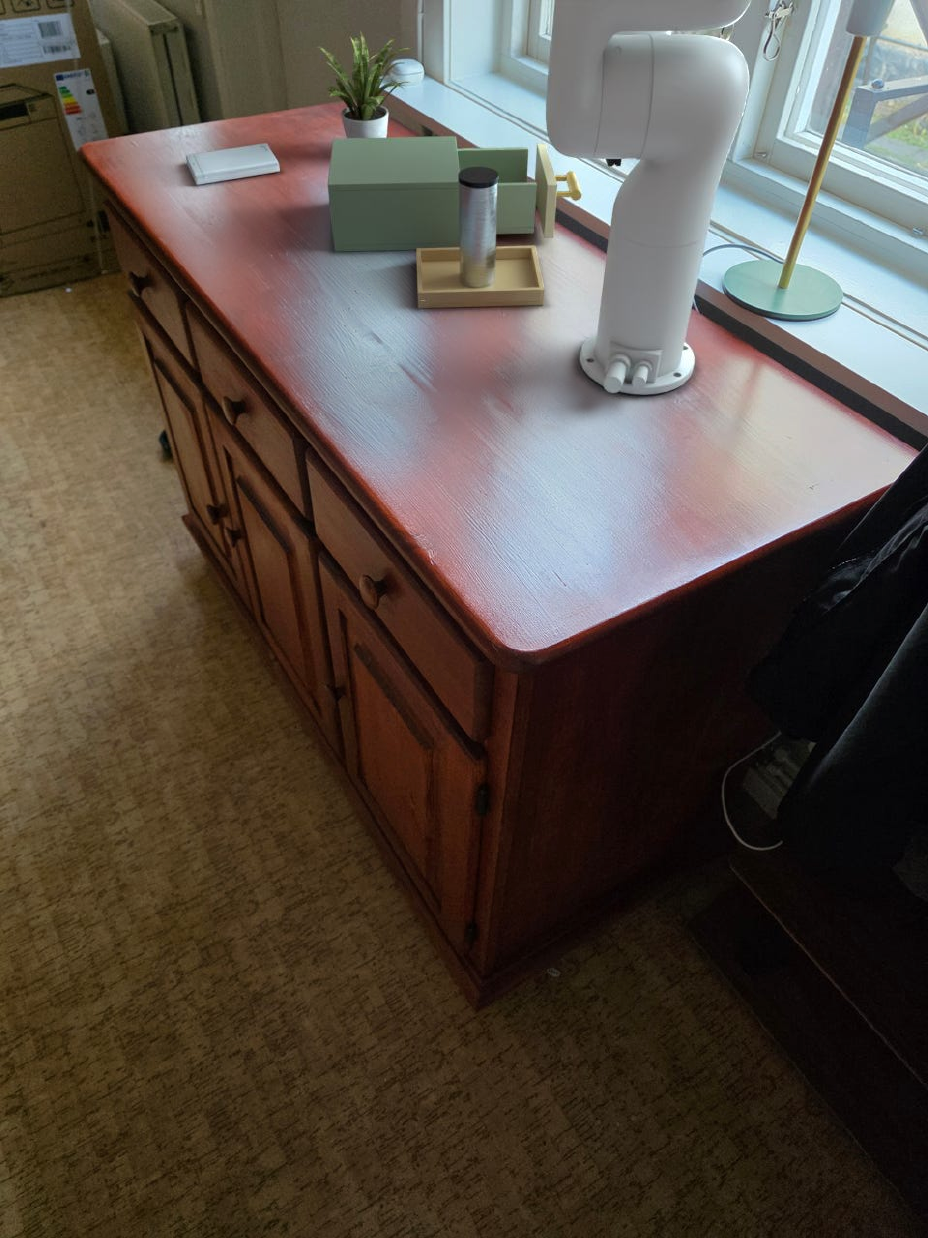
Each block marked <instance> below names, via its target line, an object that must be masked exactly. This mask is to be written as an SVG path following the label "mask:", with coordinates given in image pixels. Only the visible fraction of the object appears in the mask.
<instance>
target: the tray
mask: <svg viewBox="0 0 928 1238" xmlns="http://www.w3.org/2000/svg"><path fill="white" fill-rule="evenodd" d="M415 254H416V255H415V257H416V287H417V290H416V291H417V308H418V309H437V308H439V309H441V308H475V307H476V308H477V307H481V308H482V307H511V306H512V307H517V306H519V307H520V306H521V307H522V306H544V304H545V291H546V289H545V286H544V281H543V277H542V272H541V267H540V262H539V258H538V253H537V248H536V245H505V246H504V245H503V246H502V245H501V246H499V245H498V246H497V245H496V257H495V281H494V282H493V284H491V285H490V286H487V287H483V288H472V287H468V286H465V285H463V284H462V283H461V282H460V247H455V248H416V250H415ZM421 300H425V301H421Z"/></svg>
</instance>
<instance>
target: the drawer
mask: <svg viewBox="0 0 928 1238" xmlns="http://www.w3.org/2000/svg"><path fill="white" fill-rule="evenodd" d="M457 150H458V160H459V169H460V171H462V170H463V169H466V168H469V167H487V168H491V169H493V170H495V171H496V172H497V173H498V175H499V180H498V185H497V221H496V235H518V234H519V235H520V234H521V235H522V234H523V235H525V234H527V235H528V234H534V233H535V223H536V222H535V221H536V207H537V214H538V217H539V222H540V226H541V229H542V234H543V239H554V233H555V222H556V221H555V220H556V207H557V198H571V200H573V201H575V202H576V201H580V200H581V198H582V195H583V194H582V190H581V188H580V184H579V181H578V178H577V175H576V173H575V171H572V170H571V171H570V170H569V171H568V172H567V173H566V174H558V175H557V174H555V171H554V168H553V165H552V161H551V158H550V153H549V151H548V147H547V143H546V142H537V143H536V155H535V168H534V169H535V170H534V182H533V181H532V182H531V181H529V182H527V180H528V165H529V147H528V146H515V147H514V146H513V147H511V146H510V147H509V146H508V147H463V148H461V147H459V148H458V147H457ZM557 182H566V184H567V185H566V186H567V188H568V190H558V183H557Z"/></svg>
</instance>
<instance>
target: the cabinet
mask: <svg viewBox="0 0 928 1238" xmlns="http://www.w3.org/2000/svg"><path fill="white" fill-rule="evenodd" d="M331 144H332V145H331V146H332V147H331V153H330V161H329V169H328V176H327V194H328V202H329V203H328V204H329V209H330V210H329V211H330V218H331V219H330V220H331V229H332V239H333V245H334V252H336V253H337V252H339V253H340V252H376V251H377V252H379V251H416V248H455V247H460V246H459V181H458V174H459V172H460V169H459V160H458V150H457V148H458V143H457V136H456V135H450V136H449V135H446V136H445V135H443V136H441V135H440V136H396V137H395V136H394V137H393V136H391V137H388V136H386V138H347V137H343V138H341V137H340V138H338V137H337V138H336V137H335V138H333V139H332V143H331Z"/></svg>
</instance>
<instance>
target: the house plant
mask: <svg viewBox="0 0 928 1238" xmlns="http://www.w3.org/2000/svg"><path fill="white" fill-rule="evenodd" d="M348 36H349V38H350V40H351V43H352V45H353V49H352V50H353V53H352V54H353V63H352V65H353V66H352V68H353V70H352V71H351V78H352V82H353V85H352V83H351V81H350V79H349V78H348V75H347V73H346V72H345V69H344V68H343V67H342V65H341V63H340V62H339V61H338V60H337V57H335V56H334V55H333V54H332V53H330V52H329V51H327V50H326V49H324V48H323V47H322V46H318V45H314V46H315V47H317V48H318V49H320V51H322V52H323V53H324V54H325V55H326V57H327V58H328V59H329V61H330V62H331V63H330V62H328V61H326V64H328V65H329V66H331V67H332V69H333V71H335V72H336V73H337V74H338V75H336V74H335V73H333V77H334V78H335V82H336V85H337V87H336V86H329V87H326V88H325V89H326V90H327V91H329V92H331V93H330V94H329V96H328V98H331V97H338V98H340V99H341V100H342V101H343V102H344V103H345V105H346V107H345V108H343V109H342V111H341V112H340V115H341V116H340V117H341V120H342V124H343V129H344V133H345V138H386V137H388V123H389V110H388V109H387V108H386V107H385V106H382V104H383V103H384V101H385V100H386V99H387V98H388V97H389V95H390V94H391V93H392V92H393V91H394V90H395V89H396V88H398V87H399V88H401V89H403V90H405V88H404V87H403V86H402V84H408V83H410V81H401V82H399V83H395V82H389V83H386V84H384V85H382V86H381V84H382V83H383V81H384V79H385V77H386V76H387V74H388V73H389V72H390V71H391V70H392V69H393V68H394V67H395V66H397V65H402V64H404V62H401V61H400V62H395V63H393V64H391V66H389V67H388V69H386V67H385V66H386V65H387V63H388V62H389V61H390V60H391V59H392V58H394V56H396V55H397V54H399V53H400V52H402V51H407V50H413V47H403V48H399V49H396V50H395V51H393V52H391V54H389V55H388V52H389V51H390V50H392V47H390V46H391V44H392V43H393V42H395V40H396V37H393V38H392V39H390V40H388V41H387V42H386V43H385V44H384V45H383V47H382V48H381V49H380V51H379V52H378V53H377V54H375V55H372V56H371V57H369V49H368V45H367V41H366V39H365V36H364V34H363V32H362V31H360V39H359V38H358V36H357V35H356V36H355V38H354V39H353V38H352V37H351V35H350V34H349V35H348ZM360 42H361V43H360ZM387 55H388V57H387ZM375 57H376V58H375ZM386 57H387V58H386ZM374 58H375V60H374V63H373V65H372V66H371V68H370V61H371V60H373V59H374ZM385 58H386V59H385ZM332 64H333V65H332ZM385 70H386V71H385ZM383 71H385V72H384V75H382V73H383ZM381 75H382V77H381ZM338 76H339V77H338ZM380 77H381V78H380ZM340 78H341V79H340ZM342 81H343V82H344V84H345V85H346V87H347V88H346V87H345V85H344V84H343V83H342ZM380 86H381V87H380ZM391 87H392V88H391ZM388 88H391V89H390V90H389V91H388V92H387V94H386V95H384V94H381V93H382V92H383V91H384V90H386V89H388ZM349 92H350V93H349ZM380 94H381V95H380Z"/></svg>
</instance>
